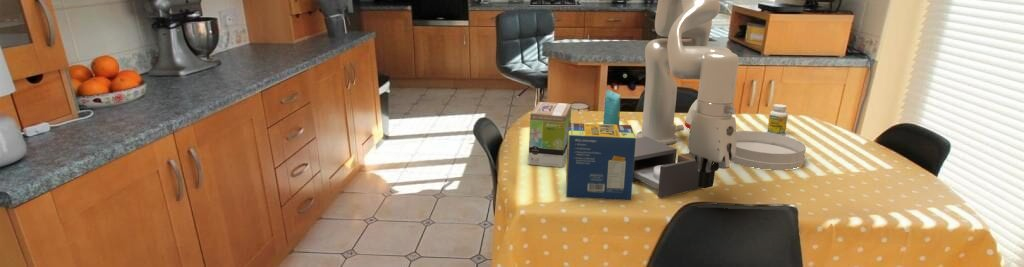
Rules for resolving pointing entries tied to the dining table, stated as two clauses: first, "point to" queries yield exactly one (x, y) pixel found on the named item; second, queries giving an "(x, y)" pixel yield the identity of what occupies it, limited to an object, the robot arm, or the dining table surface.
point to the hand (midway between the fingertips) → (705, 186)
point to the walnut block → (684, 157)
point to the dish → (768, 151)
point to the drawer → (672, 178)
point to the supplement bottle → (778, 120)
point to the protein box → (600, 161)
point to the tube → (612, 108)
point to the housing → (652, 154)
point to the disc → (656, 172)
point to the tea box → (549, 134)
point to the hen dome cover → (691, 114)
